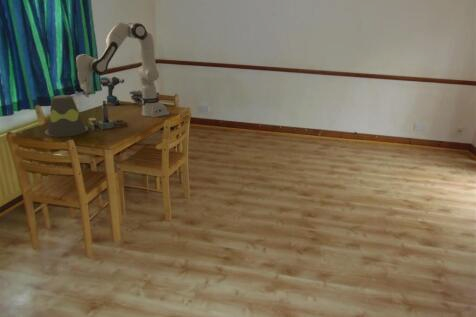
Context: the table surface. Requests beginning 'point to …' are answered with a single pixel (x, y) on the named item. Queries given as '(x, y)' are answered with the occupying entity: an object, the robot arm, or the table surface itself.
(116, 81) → the impact wrench
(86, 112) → the table surface
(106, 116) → the drill bit
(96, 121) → the drift key
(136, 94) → the dark grey irregular piece
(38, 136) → the table surface
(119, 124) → the rack
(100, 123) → the socket block
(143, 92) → the robot arm
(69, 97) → the banded grey frustum
